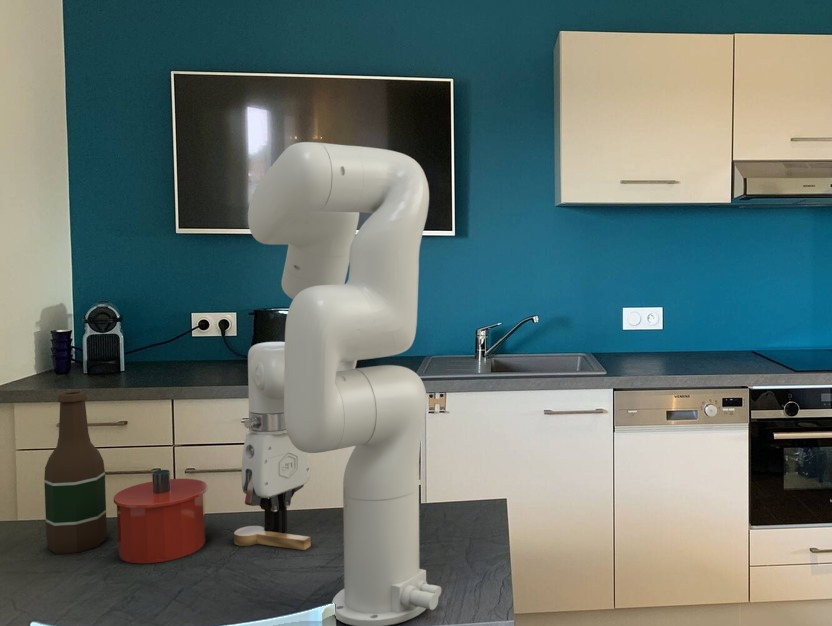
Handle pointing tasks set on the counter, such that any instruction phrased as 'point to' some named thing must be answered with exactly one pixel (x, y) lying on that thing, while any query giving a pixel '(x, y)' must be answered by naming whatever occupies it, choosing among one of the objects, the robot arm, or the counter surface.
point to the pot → (161, 531)
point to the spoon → (270, 538)
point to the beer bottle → (74, 483)
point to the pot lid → (160, 492)
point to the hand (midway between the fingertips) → (275, 532)
